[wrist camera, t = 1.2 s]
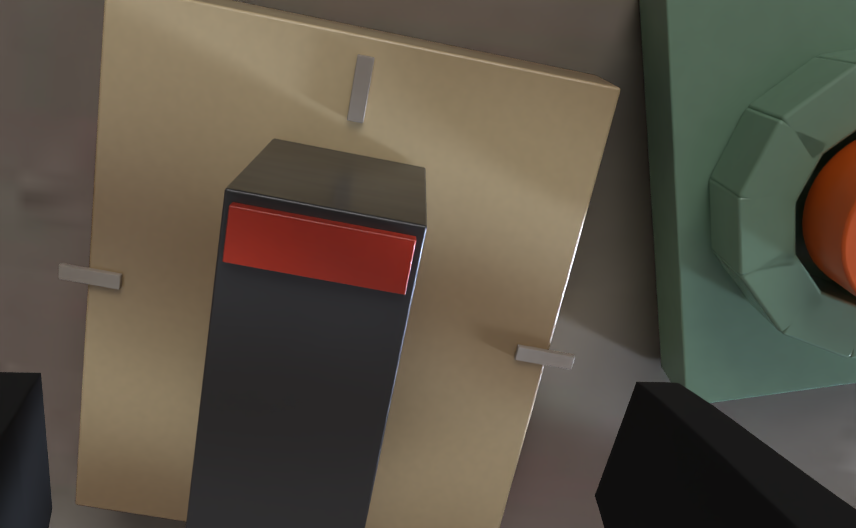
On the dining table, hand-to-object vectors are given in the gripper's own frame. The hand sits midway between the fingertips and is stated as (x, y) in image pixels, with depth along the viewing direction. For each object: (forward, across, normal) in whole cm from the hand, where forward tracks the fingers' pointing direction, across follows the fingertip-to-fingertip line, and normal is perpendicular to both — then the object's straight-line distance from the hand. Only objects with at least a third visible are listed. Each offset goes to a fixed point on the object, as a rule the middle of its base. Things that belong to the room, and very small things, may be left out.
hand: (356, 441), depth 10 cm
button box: (+9, -13, -1) cm, 16 cm away
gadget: (+8, -1, +4) cm, 9 cm away
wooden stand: (+11, -1, +4) cm, 12 cm away
